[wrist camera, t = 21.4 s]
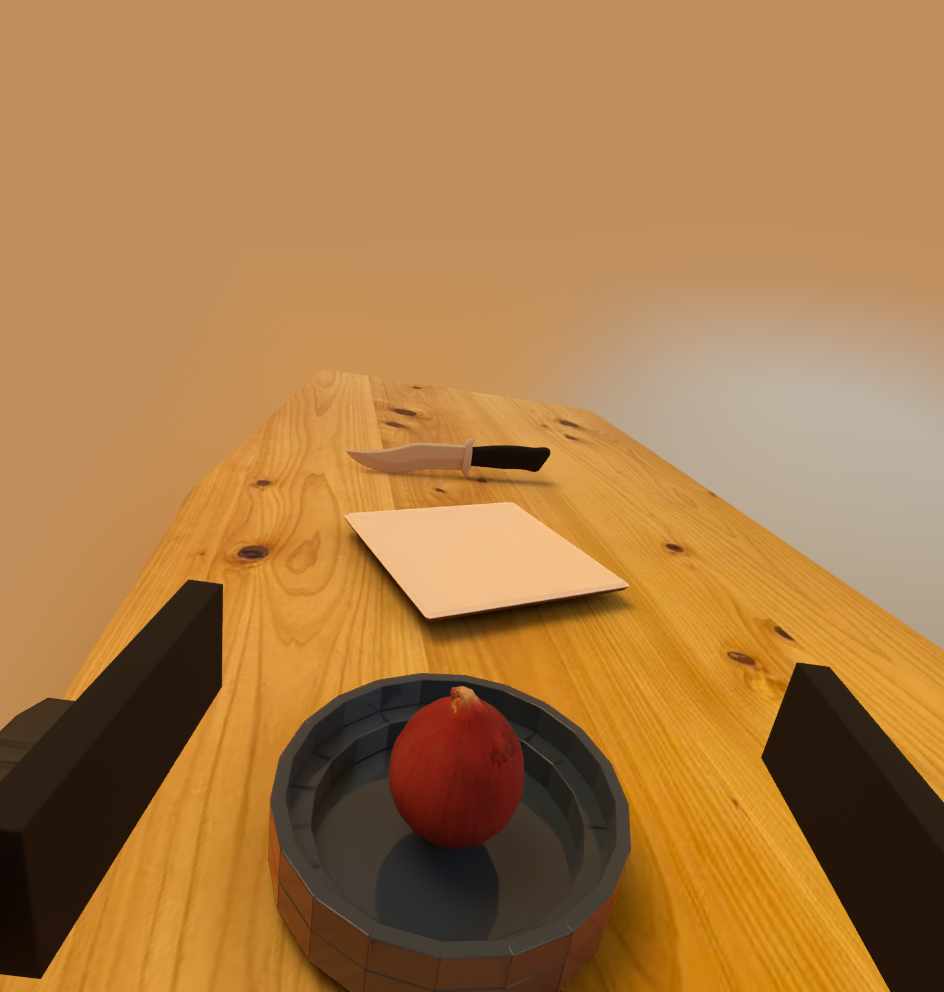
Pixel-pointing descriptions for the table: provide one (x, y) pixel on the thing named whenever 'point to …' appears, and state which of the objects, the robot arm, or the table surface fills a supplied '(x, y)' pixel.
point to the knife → (451, 457)
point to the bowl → (443, 852)
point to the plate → (478, 559)
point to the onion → (457, 771)
